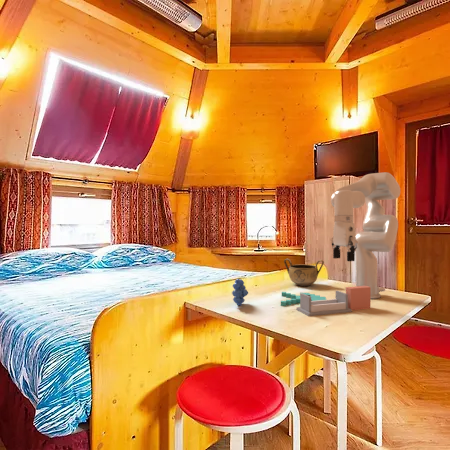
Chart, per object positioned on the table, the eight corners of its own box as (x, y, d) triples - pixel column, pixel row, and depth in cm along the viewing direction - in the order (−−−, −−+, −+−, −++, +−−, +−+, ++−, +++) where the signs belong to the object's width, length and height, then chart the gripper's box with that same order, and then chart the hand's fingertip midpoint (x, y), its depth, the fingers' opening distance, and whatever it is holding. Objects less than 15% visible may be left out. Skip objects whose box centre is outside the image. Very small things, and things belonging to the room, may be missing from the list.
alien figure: (280, 307, 137) (328, 309, 133) (280, 301, 137) (328, 304, 133) (281, 296, 157) (323, 298, 153) (281, 291, 157) (323, 293, 152)
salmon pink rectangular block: (365, 306, 136) (365, 285, 136) (370, 308, 133) (370, 287, 133) (345, 308, 133) (345, 287, 133) (350, 310, 130) (350, 288, 130)
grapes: (243, 310, 130) (243, 281, 130) (228, 308, 133) (228, 280, 133) (252, 303, 141) (252, 276, 141) (238, 301, 144) (238, 275, 144)
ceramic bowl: (325, 284, 184) (325, 258, 184) (321, 289, 168) (321, 261, 168) (287, 281, 193) (287, 256, 193) (280, 286, 178) (280, 259, 178)
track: (337, 306, 137) (337, 289, 136) (351, 311, 128) (351, 294, 128) (296, 309, 131) (296, 293, 131) (308, 316, 122) (308, 298, 122)
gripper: (364, 219, 127) (364, 262, 127) (339, 219, 143) (339, 257, 144) (348, 219, 125) (348, 262, 125) (324, 219, 142) (324, 257, 142)
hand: (343, 259), depth 134 cm, fingers open, 9 cm apart
